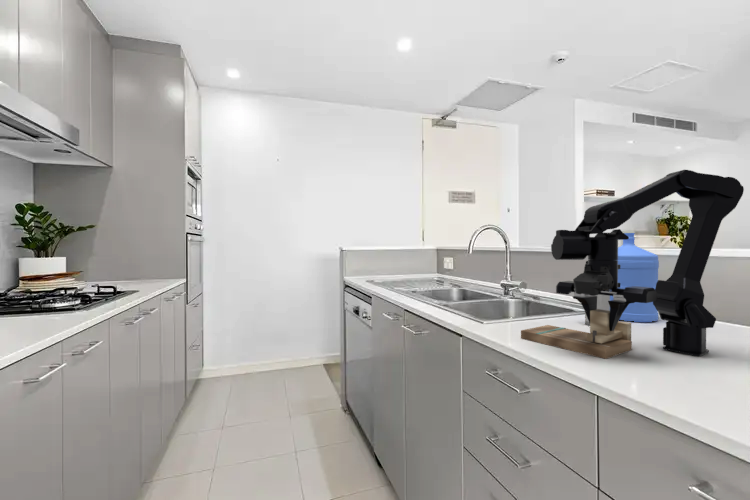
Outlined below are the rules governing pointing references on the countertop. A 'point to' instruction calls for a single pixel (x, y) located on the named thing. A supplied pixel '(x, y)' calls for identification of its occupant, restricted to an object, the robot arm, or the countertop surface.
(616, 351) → the walnut board
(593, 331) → the beech gauge
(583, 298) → the robot arm
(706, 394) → the countertop surface
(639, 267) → the water jug
